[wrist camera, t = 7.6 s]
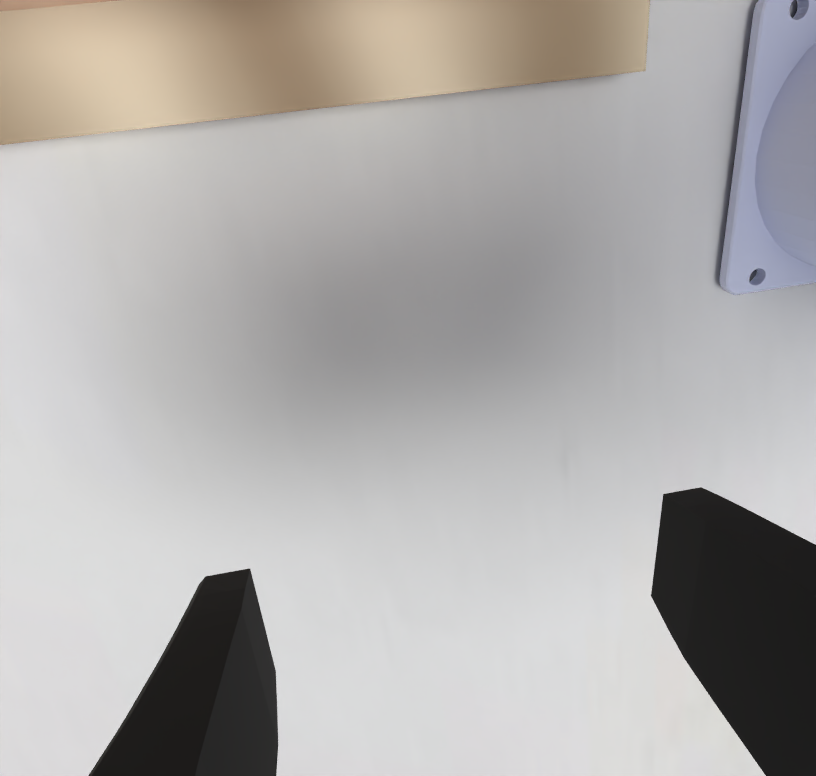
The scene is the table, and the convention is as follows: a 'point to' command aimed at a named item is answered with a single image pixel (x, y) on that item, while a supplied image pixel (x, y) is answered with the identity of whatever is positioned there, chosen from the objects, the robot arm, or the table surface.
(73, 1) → the shallow wooden crate
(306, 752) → the table surface
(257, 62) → the light wood rectangular frame
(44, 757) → the table surface
